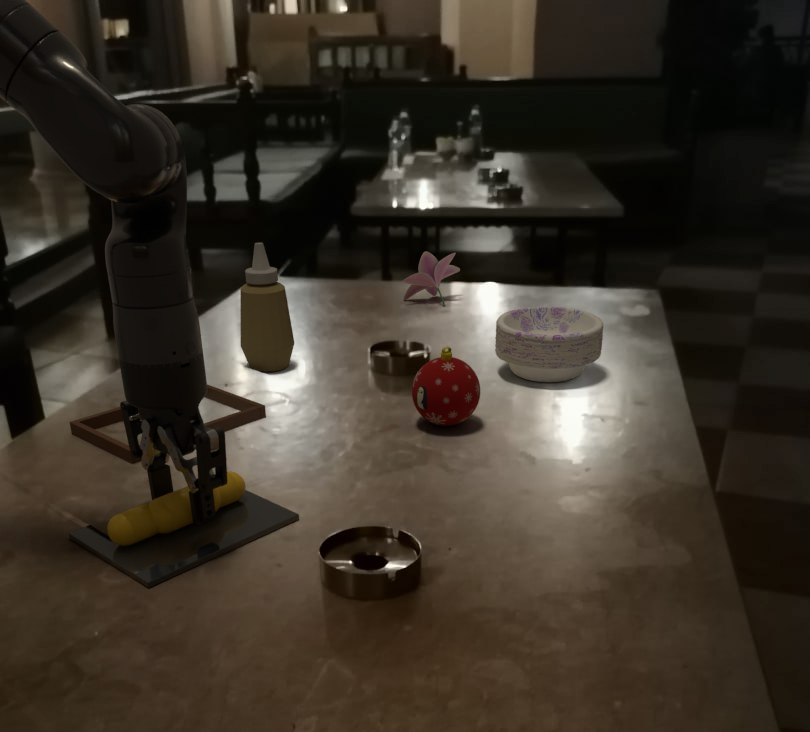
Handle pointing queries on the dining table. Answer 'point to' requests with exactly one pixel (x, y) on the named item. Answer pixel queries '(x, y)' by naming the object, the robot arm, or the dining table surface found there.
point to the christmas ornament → (446, 390)
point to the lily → (430, 275)
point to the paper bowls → (548, 342)
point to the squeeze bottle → (265, 317)
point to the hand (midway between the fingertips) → (183, 511)
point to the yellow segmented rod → (167, 513)
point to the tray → (246, 414)
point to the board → (188, 540)
